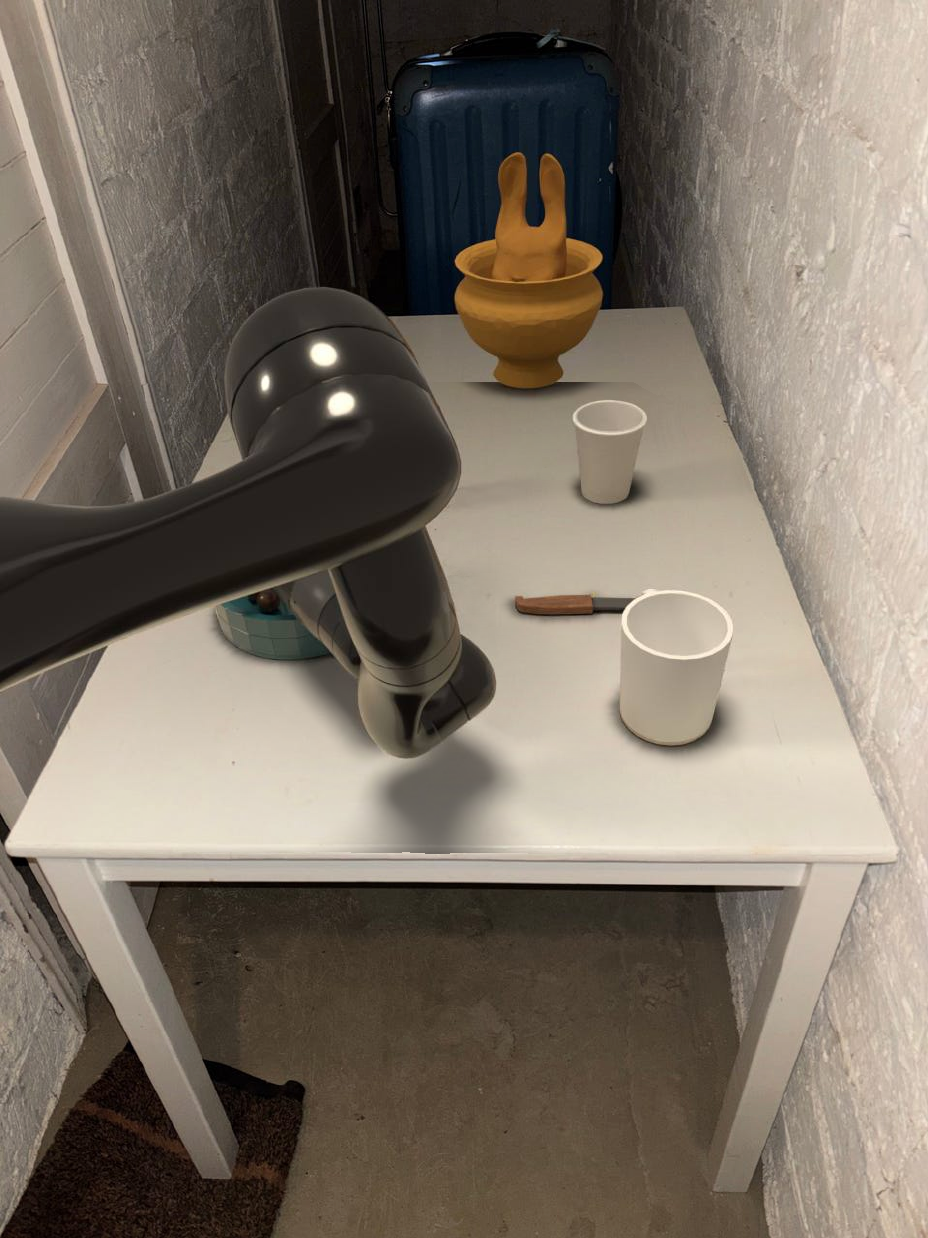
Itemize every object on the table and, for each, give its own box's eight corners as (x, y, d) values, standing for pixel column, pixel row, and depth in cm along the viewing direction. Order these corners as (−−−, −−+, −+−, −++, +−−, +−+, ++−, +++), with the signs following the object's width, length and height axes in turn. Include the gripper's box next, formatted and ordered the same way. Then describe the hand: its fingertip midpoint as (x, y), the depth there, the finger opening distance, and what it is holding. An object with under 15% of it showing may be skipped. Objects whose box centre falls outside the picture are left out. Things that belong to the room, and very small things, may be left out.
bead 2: (262, 619, 93) (257, 601, 91) (256, 606, 95) (252, 588, 93) (285, 613, 93) (281, 594, 92) (279, 600, 95) (275, 581, 94)
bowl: (239, 681, 86) (228, 641, 83) (204, 581, 99) (194, 543, 96) (412, 628, 91) (408, 589, 88) (357, 540, 104) (352, 502, 101)
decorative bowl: (436, 393, 133) (420, 170, 114) (488, 339, 148) (482, 134, 129) (574, 412, 126) (582, 179, 107) (615, 353, 141) (627, 139, 122)
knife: (677, 586, 93) (682, 604, 90) (676, 594, 93) (681, 612, 91) (514, 590, 93) (515, 608, 91) (514, 598, 94) (515, 616, 92)
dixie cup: (638, 512, 106) (645, 434, 100) (566, 507, 107) (569, 430, 101) (642, 476, 112) (648, 400, 106) (574, 471, 114) (576, 397, 107)
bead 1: (271, 603, 95) (248, 607, 94) (265, 591, 97) (242, 593, 96) (271, 585, 94) (248, 588, 93) (265, 572, 95) (242, 575, 94)
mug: (734, 739, 78) (752, 648, 71) (635, 759, 76) (644, 668, 70) (683, 657, 86) (695, 568, 80) (593, 674, 85) (598, 585, 78)
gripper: (395, 529, 81) (311, 456, 93) (248, 586, 75) (178, 501, 87) (403, 596, 86) (322, 519, 97) (265, 655, 80) (197, 565, 92)
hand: (255, 511), depth 92 cm, fingers closed on lollipop, 3 cm apart
